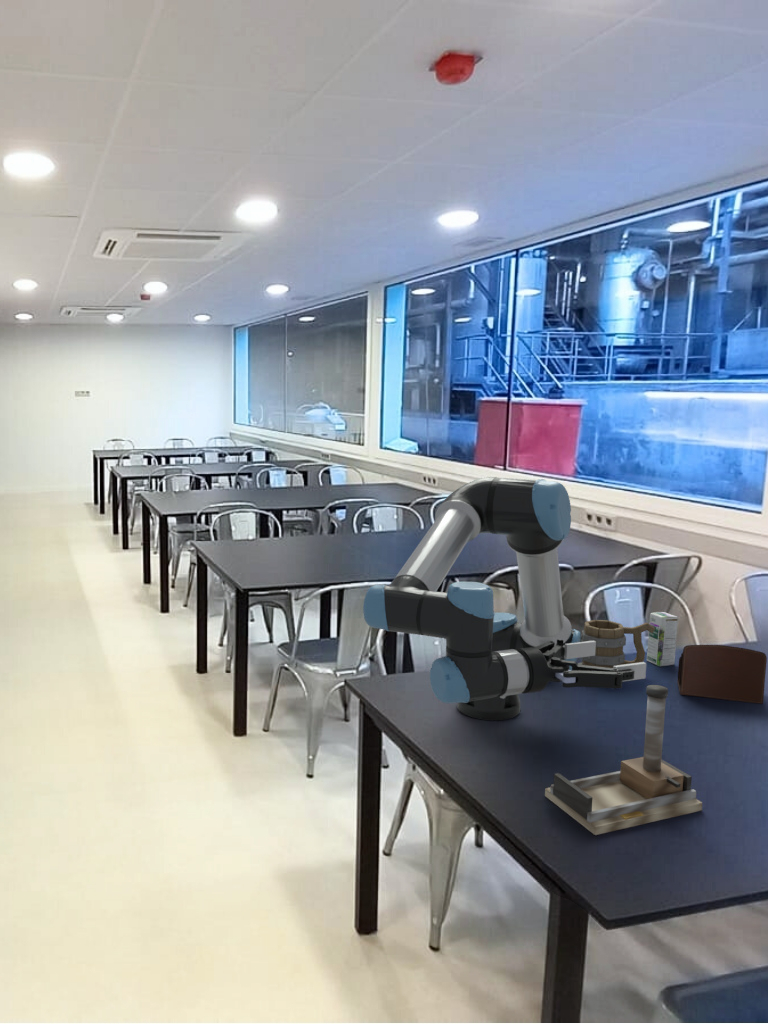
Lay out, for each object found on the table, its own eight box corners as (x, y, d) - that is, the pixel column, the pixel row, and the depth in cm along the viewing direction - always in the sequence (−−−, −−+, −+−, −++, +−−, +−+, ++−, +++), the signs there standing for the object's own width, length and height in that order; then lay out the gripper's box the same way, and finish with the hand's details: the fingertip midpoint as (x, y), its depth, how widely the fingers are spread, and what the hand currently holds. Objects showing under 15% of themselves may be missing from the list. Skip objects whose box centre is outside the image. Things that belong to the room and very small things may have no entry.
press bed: (595, 835, 138) (596, 805, 138) (544, 795, 152) (546, 768, 151) (701, 810, 148) (703, 782, 147) (645, 775, 162) (647, 749, 161)
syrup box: (645, 660, 236) (648, 612, 234) (662, 659, 238) (665, 611, 236) (658, 666, 230) (662, 617, 228) (675, 664, 232) (679, 616, 230)
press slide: (662, 808, 145) (669, 703, 142) (619, 780, 155) (626, 682, 152) (692, 801, 147) (699, 698, 145) (648, 774, 158) (655, 678, 155)
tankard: (580, 679, 218) (583, 625, 216) (575, 665, 230) (578, 614, 228) (656, 684, 215) (660, 630, 213) (647, 669, 228) (651, 617, 226)
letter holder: (763, 704, 203) (768, 650, 201) (679, 695, 208) (683, 642, 206) (756, 691, 212) (761, 639, 210) (676, 683, 217) (680, 632, 216)
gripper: (480, 670, 149) (574, 658, 157) (561, 719, 126) (666, 702, 134) (481, 630, 148) (576, 621, 156) (563, 672, 125) (669, 658, 133)
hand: (618, 658), depth 145 cm, fingers open, 13 cm apart
